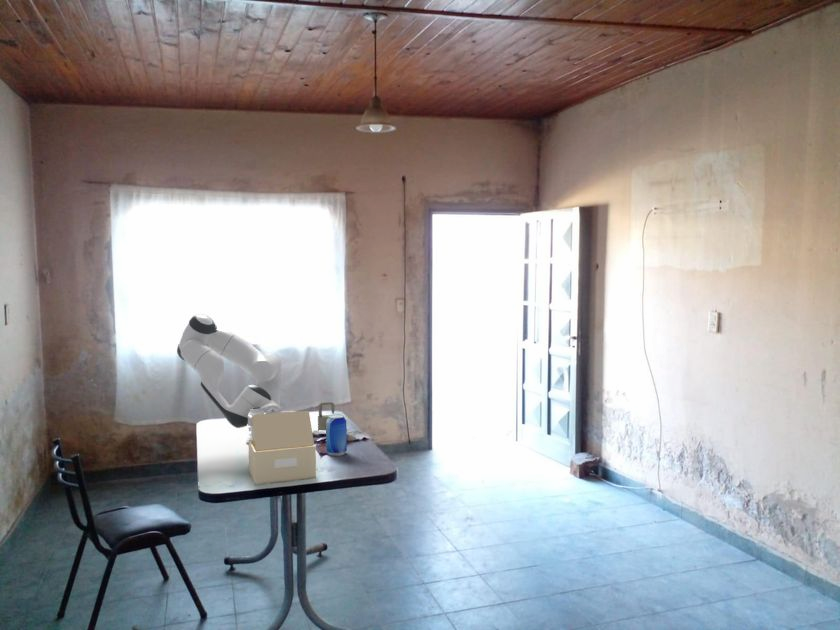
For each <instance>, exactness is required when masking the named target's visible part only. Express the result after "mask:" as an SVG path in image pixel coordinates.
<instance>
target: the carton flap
mask: <svg viewBox="0 0 840 630" xmlns="http://www.w3.org/2000/svg"><path fill="white" fill-rule="evenodd" d="M252 420H253V429H254V439H255V448H256V451H257V450H267V449H277V448H287V447H298V446H308V445H315V440H314V436H313V435H314V434H313V428H312V423H311V416H310V410H301V411H299V410H298V411H296V412H284V413H272V414H259V415H252Z"/></svg>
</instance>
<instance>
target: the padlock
mask: <svg viewBox="0 0 840 630" xmlns="http://www.w3.org/2000/svg"><path fill="white" fill-rule="evenodd" d="M323 406H331V414H332V415H333V414H335V411H336V410H335V409H336V407H335V402H332V401H322V402H319V404H318V416H317V432H318V431H319V430H326V421H327V419H328V416H329V415H330V414H328V415H327V414H326V415H325V414H324V415H323V409H322V408H323Z"/></svg>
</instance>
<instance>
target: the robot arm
mask: <svg viewBox="0 0 840 630" xmlns="http://www.w3.org/2000/svg"><path fill="white" fill-rule="evenodd" d="M176 354H177V356H178V357H179V358H180V359H181V360H182V361H185V362H186V363H187V364H188V365H189V366H190V368H192V369H193V370H194V371H195V372H196V373H197V374H198V375H199V377H200V386H201V388H202V389H203V392H205V394H206V396H208V398H209V399H210V400H211V401H212V402H213V404H214V405H215V406H216V408H218V410H219V411H220V412H221V413H222V415H223V416H224V418H225V419H226V420H227V422H228V423H229V424H230V425H231V426H232V427H235V428H236V429H240V428H245V427H247V426H248V432H249V433H248V436H247V439H246V444H247V445H249V440H255V439H254V429H253V420H252V415H259V414H272V413H284V412H297V411H296V410H288V411H287V410H284V411H283V410H282V408H281V385H282V384H281V381H282V379H281V378H282V361H281V359H280V358H279V356H278V355H277V354H273V353H270V352H268V353H263V352H261V351H260V350H259V349H257V348H256V347H254V345H252V343H251V342H248V341H246V340H245V339H243V338H241V337H240V336H238V335H236V334H234V333H233V332H231V331H229V330H227V329H224V328H221V327H220V326H217V325H216V323H215V322H214V320H213V319H212V318H211V317H209V316H208V315H206V314H202V313H197V314H194V315H193V316H192V317H191V318H190V319H189V321H188V324H187V325H186V327H185V328H184V330H183V333H182V336H181V338H180V341H179V343H178V345H177V349H176ZM223 358H224V359H226V360H227V361H228V362H231V363H233V364H234V365H236V366H238V367H239V368H241V370H243V371H244V372H246V373H247V375H249V376H251V378H253V379H254V380H255V384H248V385H247V386H245V387H244V389H243V390H242V391H241V393H239V395H238V396H237V397H236V399H235V400H234V402H232V403H231V404H230V403H229V402H228V400H226V399H225V398H224V396H223V395H222V394H221V392H220V389H219V388H220V383H221V379H222V376H223V374H224V369H225V363H224V359H223Z"/></svg>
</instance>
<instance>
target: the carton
mask: <svg viewBox="0 0 840 630" xmlns="http://www.w3.org/2000/svg"><path fill="white" fill-rule="evenodd" d="M316 449H317V447H316V445H315V444H314V445H308V446H298V447H287V448H277V449H267V450H257V451H256V448H255V440H249V444H248V471H249V474H250V476H251V478H252V480H253V481H252V482H253V483H255V484H254V486H257V485H256V484H261V485H267V483H270V484H276V483H277V484H279V483H284V482H285V483H286V482H294V481H301V480H302V481H303V480H311V479H317V466H316V465H317V463H316V462H317V460H316V458H317V455H316Z"/></svg>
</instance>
